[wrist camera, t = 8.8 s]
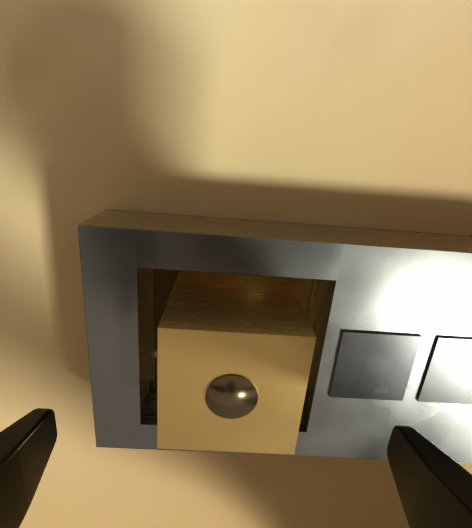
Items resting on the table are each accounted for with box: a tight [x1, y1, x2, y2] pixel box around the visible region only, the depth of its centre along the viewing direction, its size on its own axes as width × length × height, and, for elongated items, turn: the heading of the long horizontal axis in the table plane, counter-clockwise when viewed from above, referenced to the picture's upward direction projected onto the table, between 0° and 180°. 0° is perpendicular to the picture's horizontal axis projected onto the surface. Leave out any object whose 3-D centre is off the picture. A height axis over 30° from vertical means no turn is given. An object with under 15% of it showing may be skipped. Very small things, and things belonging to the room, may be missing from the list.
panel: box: [78, 210, 472, 463], centre depth 13 cm, size 16×9×3 cm, turn 85°
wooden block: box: [157, 271, 316, 455], centre depth 12 cm, size 4×4×5 cm
